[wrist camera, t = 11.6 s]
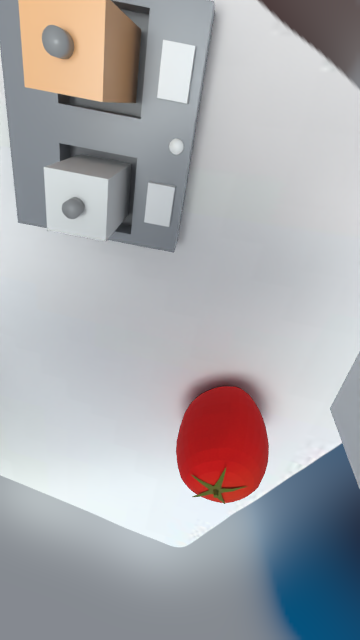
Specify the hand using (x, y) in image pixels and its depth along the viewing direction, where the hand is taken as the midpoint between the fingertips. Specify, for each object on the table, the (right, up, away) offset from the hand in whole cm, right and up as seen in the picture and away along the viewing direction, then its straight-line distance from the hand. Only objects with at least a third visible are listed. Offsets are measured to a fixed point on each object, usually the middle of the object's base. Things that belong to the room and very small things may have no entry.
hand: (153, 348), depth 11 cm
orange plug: (-5, +23, +17) cm, 29 cm away
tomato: (+7, -11, +38) cm, 40 cm away
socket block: (-6, +19, +20) cm, 28 cm away
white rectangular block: (-7, +15, +23) cm, 28 cm away
